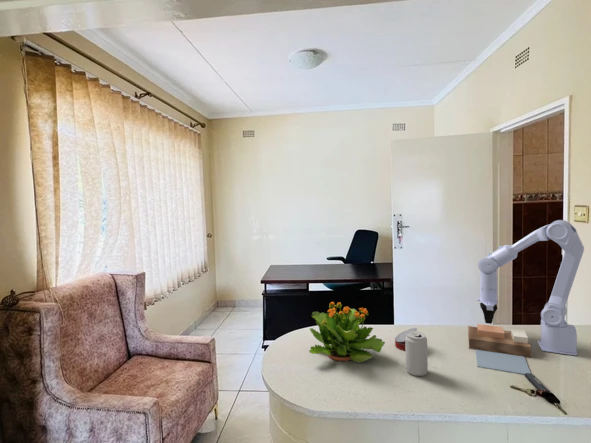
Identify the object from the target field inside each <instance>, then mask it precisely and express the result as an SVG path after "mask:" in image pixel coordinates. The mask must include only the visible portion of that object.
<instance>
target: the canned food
mask: <svg viewBox="0 0 591 443" xmlns="http://www.w3.org/2000/svg"><path fill="white" fill-rule="evenodd" d="M410 331H418V327H413V328H412V327H411V328H409V329H406V330H404V331H402V332H400V333H398V335H396V337H394V340H395V341H394V344H395V348H396V349H398V350H400V351H402V352H405V337H406V333H407V332H410Z"/></svg>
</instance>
